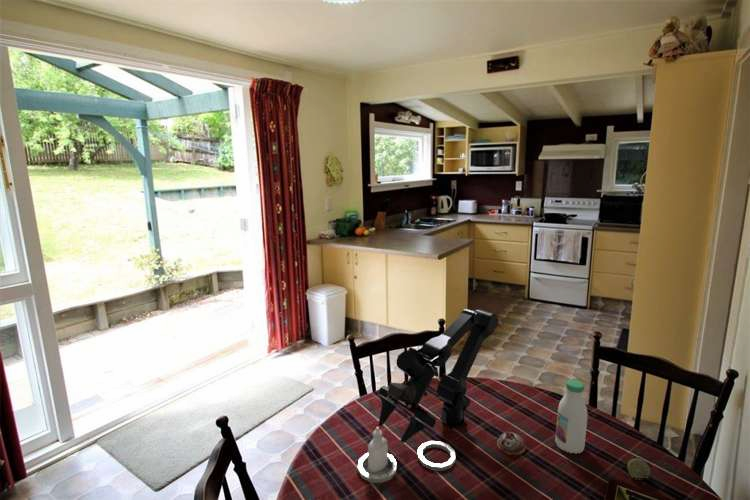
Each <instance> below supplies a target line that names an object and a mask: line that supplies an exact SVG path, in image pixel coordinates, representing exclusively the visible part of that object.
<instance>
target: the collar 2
mask: <svg viewBox="0 0 750 500" xmlns="http://www.w3.org/2000/svg"><path fill="white" fill-rule="evenodd" d="M431 448H438V449H441V450H444V451H446V452H447V453H448V455H450V458H449V459H448V460H447V461H445V462H443V463H434V462H431V461H429V460H427V459H426V458H425V456H424V455H423V453H425V451H426V450H428V449H431ZM417 460H418V462H419V463H420V464H421V465H422V466H423V467H424V468H427V469H429V470H431V471H438V472H440V471H441V472H443V471H446V470H449V469H452V467H454V465H455V463H456V460H457V459H456V452H455V449H453V448H452V447H451V445H450V444H448V443H445V442H443V441H438V440H437V441H436V440H429V441H426V442H424V443H422V444H421V445H420V446H419V447H418V448H417Z"/></svg>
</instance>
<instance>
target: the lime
mask: <svg viewBox="0 0 750 500" xmlns="http://www.w3.org/2000/svg"><path fill="white" fill-rule="evenodd" d="M627 471H628V474H629V475H630V477H632V478H633V477H636V478H647V479H646V480H648V479H649V478H650V476H651V469H650V467H649V465H648V464H647V463H646V461H644V460H643V459H641V458H637V457H636V458H631V459H629V461H628V463H627Z"/></svg>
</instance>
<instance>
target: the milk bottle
mask: <svg viewBox="0 0 750 500" xmlns="http://www.w3.org/2000/svg"><path fill="white" fill-rule="evenodd" d="M565 390H566V391H565V394H564V396H562V398H561V400H560V402H559V404H558V407H557V414H556V416H557V417H556V427H555V440H554V441H555V444H556V446H557V447H558V449H560V450H561V451H563V450H564V451H563V452H565V451H566V453H568V452H569V454H572V453H575V454H574V455H578V454H581V453H582V452H583V451H584V450H585V445H586V436H587V435H586V434H587V425H588V407H587V405H586V403H585V402H586V401H585V400H584V396H583V395H584V393H585V385H584V383H583V382H581V381H579V380H575V379H569V380H566V383H565ZM577 453H578V454H577Z"/></svg>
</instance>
